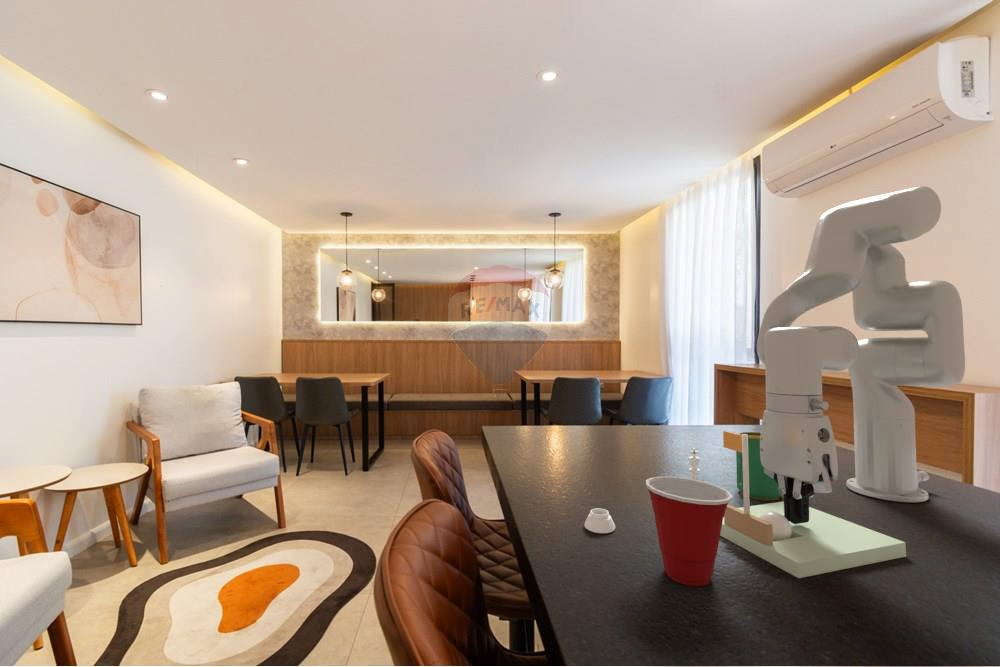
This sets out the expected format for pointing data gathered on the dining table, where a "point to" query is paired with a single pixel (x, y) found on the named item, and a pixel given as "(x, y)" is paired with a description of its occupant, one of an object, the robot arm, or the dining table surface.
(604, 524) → the white jar
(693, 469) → the chess piece
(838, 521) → the green
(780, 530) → the white egg
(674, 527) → the plastic cup
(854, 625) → the dining table surface
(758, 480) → the beverage can
